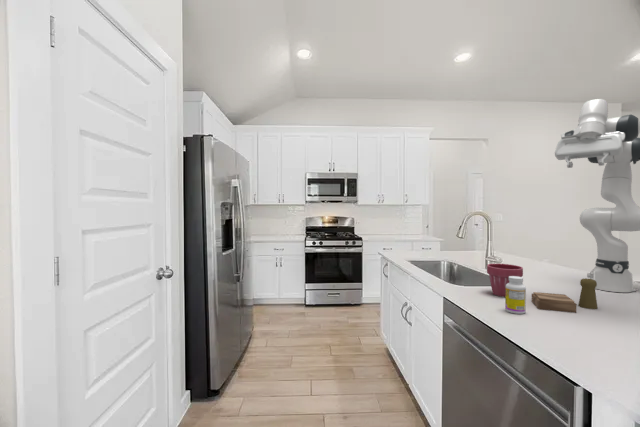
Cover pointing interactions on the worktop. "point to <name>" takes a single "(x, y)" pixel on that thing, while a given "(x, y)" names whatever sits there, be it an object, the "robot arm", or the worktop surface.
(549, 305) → the walnut stand
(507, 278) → the plant pot
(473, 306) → the worktop surface
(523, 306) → the supplement bottle
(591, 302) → the cork
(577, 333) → the worktop surface
